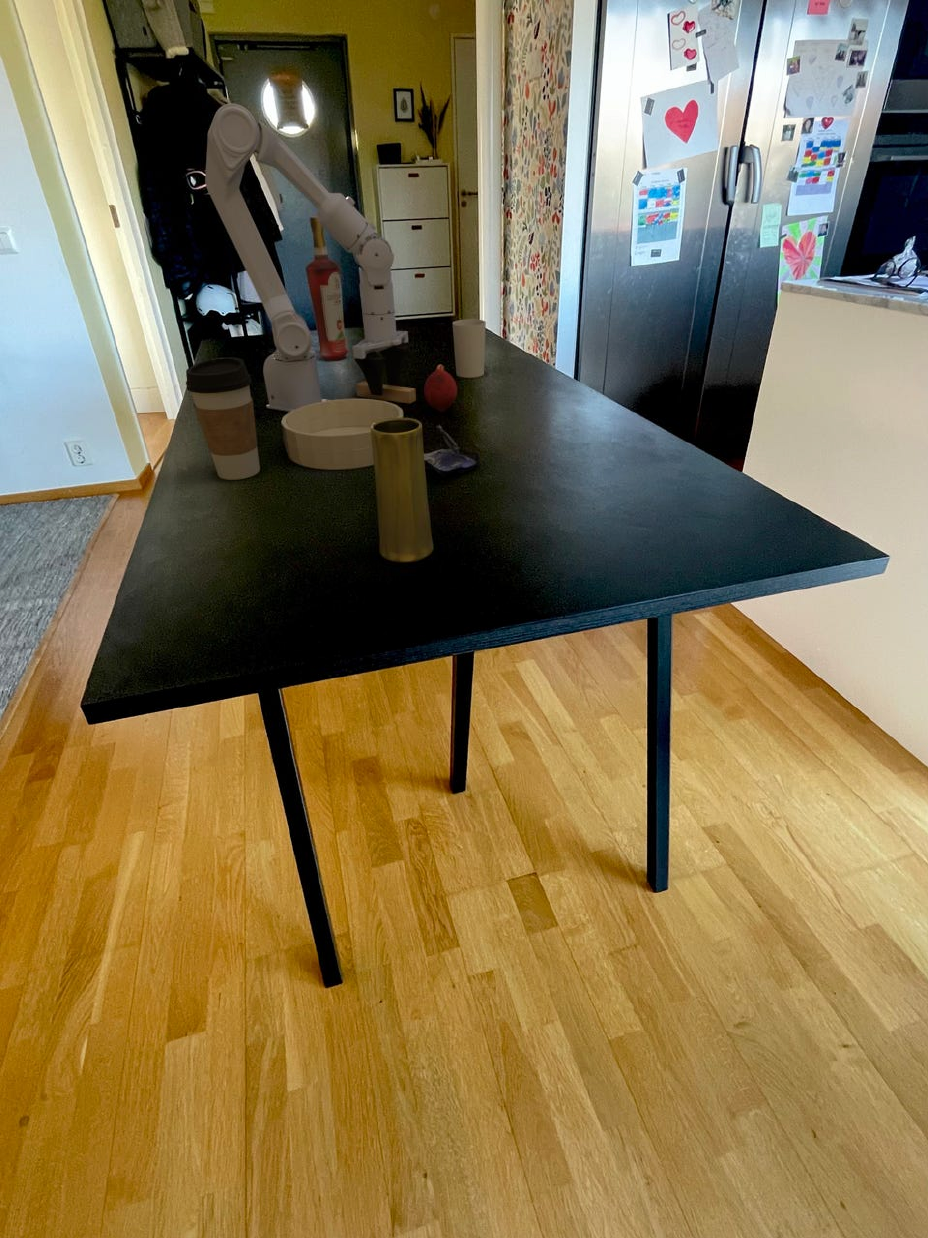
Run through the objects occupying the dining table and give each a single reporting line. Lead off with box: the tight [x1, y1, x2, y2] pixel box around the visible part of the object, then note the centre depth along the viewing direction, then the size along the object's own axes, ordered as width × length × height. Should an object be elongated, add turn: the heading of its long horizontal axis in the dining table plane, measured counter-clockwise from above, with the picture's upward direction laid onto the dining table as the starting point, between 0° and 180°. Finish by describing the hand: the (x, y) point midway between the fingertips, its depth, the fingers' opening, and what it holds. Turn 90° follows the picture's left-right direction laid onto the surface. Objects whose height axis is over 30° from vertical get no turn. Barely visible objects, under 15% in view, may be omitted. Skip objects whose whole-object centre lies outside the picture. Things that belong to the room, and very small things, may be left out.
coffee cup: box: [185, 356, 261, 481], centre depth 92 cm, size 8×8×15 cm
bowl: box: [280, 398, 405, 471], centre depth 102 cm, size 18×18×5 cm
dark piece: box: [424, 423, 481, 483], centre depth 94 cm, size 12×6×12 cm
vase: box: [371, 417, 435, 564], centre depth 71 cm, size 6×6×14 cm
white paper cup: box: [452, 318, 487, 379], centre depth 136 cm, size 7×7×10 cm
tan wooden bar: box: [355, 381, 417, 405], centre depth 125 cm, size 12×2×2 cm, turn 61°
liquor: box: [305, 216, 349, 361], centre depth 146 cm, size 7×7×28 cm
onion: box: [423, 364, 458, 413], centre depth 115 cm, size 6×6×8 cm
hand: (385, 390), depth 124 cm, fingers open, 5 cm apart
